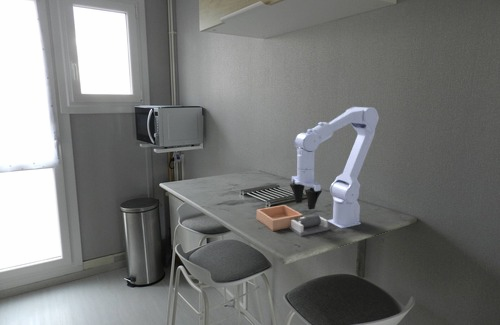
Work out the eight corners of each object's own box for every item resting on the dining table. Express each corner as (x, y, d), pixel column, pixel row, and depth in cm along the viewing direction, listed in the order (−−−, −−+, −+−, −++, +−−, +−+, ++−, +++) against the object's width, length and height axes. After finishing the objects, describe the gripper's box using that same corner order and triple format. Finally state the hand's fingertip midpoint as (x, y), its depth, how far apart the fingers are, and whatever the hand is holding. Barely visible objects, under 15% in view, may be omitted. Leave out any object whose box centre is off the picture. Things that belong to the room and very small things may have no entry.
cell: (314, 223, 122) (313, 213, 122) (320, 226, 119) (320, 215, 118) (296, 227, 119) (295, 216, 119) (302, 230, 115) (302, 219, 115)
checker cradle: (316, 223, 125) (317, 214, 124) (328, 229, 119) (329, 220, 118) (289, 229, 120) (289, 219, 119) (300, 236, 114) (300, 226, 113)
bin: (284, 214, 135) (284, 204, 134) (302, 224, 123) (302, 214, 123) (256, 219, 129) (256, 209, 128) (272, 231, 118) (272, 220, 117)
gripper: (284, 165, 118) (284, 201, 121) (308, 173, 106) (307, 214, 108) (301, 163, 121) (300, 198, 124) (326, 171, 108) (325, 210, 111)
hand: (304, 205), depth 116 cm, fingers open, 7 cm apart
